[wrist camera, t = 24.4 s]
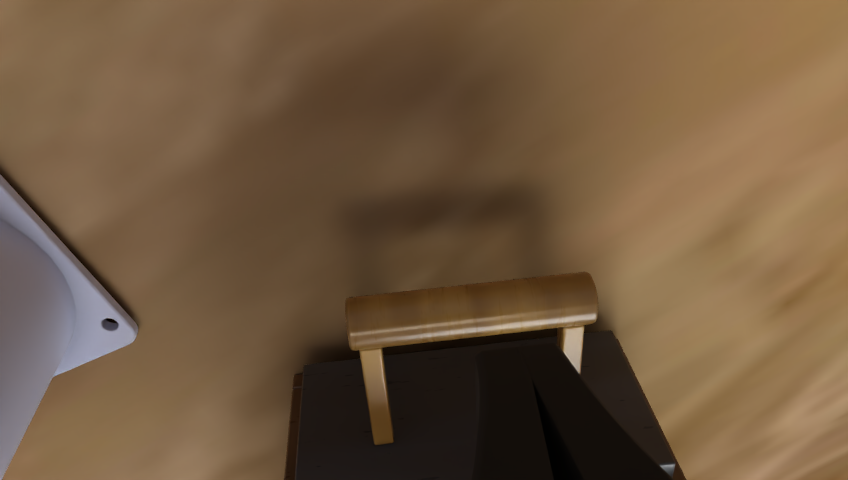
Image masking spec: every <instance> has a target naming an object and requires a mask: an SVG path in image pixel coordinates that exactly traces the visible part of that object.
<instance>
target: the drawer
mask: <svg viewBox="0 0 848 480" xmlns="http://www.w3.org/2000/svg"><path fill="white" fill-rule="evenodd" d="M345 316H346V327H347V335H348V342H349V346H350V348H351V350H353V351H355V350H359V352H360V359H351V360H342V361H333V362H325V363H316V364H307V365H304V367H303V380H302V393H301V406H300V419H299V432H298V445H297V458H296V471H295V480H471V479H472V473H473V468H474V461H475V454H476V444H477V412H476V383H475V356H476V355H477V354H478V353H479V352H481V351H484V350H493V349H502V348H511V347H520V346H529V345H537V344H546V343H555V344H556V345H558V346H559V347H560V348H561V349H562V351H563V352H564V354H565V355H566V356H567V358H568V359H569V361H570V362H571V363H572V365H573V366H574V367H575V369H576V370H577V371H578V373H579V374H580V375H581V376H582V378H583V379H584V380H585V381H586V383H587V384H588V385H589V387H590V388H591V389H592V390H593V391H594V393H595V394H596V395H597V396H598V398H599V399H600V400H601V401H602V402H603V404H604V405H605V406H606V407H607V408H608V410H609V411H610V412H611V413H612V414H613V415H614V417H615V418H616V419H617V420H618V421H619V422H620V423H621V424H622V425H623V427H624V428H625V429H626V430H627V431H628V432H629V433H630V434H631V435H632V437H633V438H634V439H635V440H636V441H637V442H638V443H639V444H640V445H641V447H642V448H643V449H644V450H645V451H646V452H647V453H648V454H649V455H650V456H651V457H652V458H653V459H654V460H655V461H656V462H657V463H658V464H659V465H660V466H661V467H662V468H663V469H664V470H665V471H666V472H667V473H668V474H669V475H670V476H671V477H672V478H673V473H674V468H675V460H674V458H673V456H672V454H671V452H670V450H669V448H668V446H667V444H666V442H665V440H664V438H663V436H662V434H661V432H660V429H659V427H658V425H657V423H656V421H655V419H654V417H653V415H652V413H651V411H650V409H649V407H648V405H647V403H646V401H645V399H644V396H643V394H642V392H641V390H640V388H639V386H638V384H637V382H636V380H635V378H634V376H633V374H632V372H631V370H630V368H629V365H628V363H627V361H626V359H625V357H624V355H623V353H622V351H621V349H620V347H619V345H618V343H617V341H616V339H615V337H614V335H613V332H612V331H611V330H609V331H600V332H591V333H584V325H587V324H593V323H595V322H596V320H597V316H598V297H597V291H596V287H595V284H594V281H593V279H592V277H591V275H590V274H589V273H588V272H578V273H568V274H559V275H550V276H541V277H532V278H522V279H513V280H504V281H495V282H486V283H477V284H467V285H458V286H449V287H440V288H431V289H421V290H412V291H403V292H394V293H385V294H375V295H366V296H357V297H349V298H347V299H346V302H345ZM552 328H558V331H557V336H556V337H547V338H538V339H529V340H520V341H511V342H502V343H493V344H485V345H476V346H467V347H458V348H449V349H440V350H431V351H422V352H413V353H405V354H396V355H387V356H383V349H382V347H391V346H400V345H409V344H418V343H427V342H436V341H445V340H453V339H462V338H471V337H480V336H489V335H498V334H507V333H516V332H525V331H534V330H543V329H552Z"/></svg>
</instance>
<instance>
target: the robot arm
mask: <svg viewBox="0 0 848 480" xmlns="http://www.w3.org/2000/svg"><path fill="white" fill-rule="evenodd" d="M106 318H111V319H114V320H115V321H117V323H112V322H109V321H108V320H106ZM137 334H138V326H137V324H136V323H135V321H134V320H133V319H132V318H131V317H130V316H129V315H128V314H127V313H126V312H125V311H124V309H123V308H122V307H121V306H120V305H119V304H118V303H117V302H116V301H115V300H114V298H113V297H112V296H111V295H110V294H109V293H108V292H107V291H106V290H105V289H104V287H103V286H102V285H101V284H100V283H99V282H98V281H97V280H96V279H95V278H94V277H93V275H92V274H91V273H90V272H89V271H88V270H87V269H86V268H85V267H84V266H83V264H82V263H81V262H80V261H79V260H78V259H77V258H76V257H75V256H74V255H73V253H72V252H71V251H70V250H69V249H68V248H67V247H66V246H65V245H64V244H63V243H62V241H61V240H60V239H59V238H58V237H57V236H56V235H55V234H54V233H53V232H52V230H51V229H50V228H49V227H48V226H47V225H46V224H45V223H44V222H43V221H42V220H41V218H40V217H39V216H38V215H37V214H36V213H35V212H34V211H33V210H32V209H31V207H30V206H29V205H28V204H27V203H26V202H25V201H24V200H23V199H22V198H21V196H20V195H19V194H18V193H17V192H16V191H15V190H14V189H13V188H12V187H11V186H10V184H9V183H8V182H7V181H6V180H5V179H4V178H3V177H2V176H1V175H0V480H2V478H3V476H4V474H5V472H6V470H7V468H8V466H9V464H10V462H11V460H12V458H13V456H14V454H15V452H16V450H17V448H18V446H19V444H20V442H21V440H22V438H23V436H24V434H25V432H26V430H27V428H28V426H29V424H30V422H31V420H32V418H33V416H34V414H35V412H36V410H37V408H38V406H39V404H40V402H41V400H42V398H43V396H44V394H45V392H46V390H47V388H48V386H49V384H50V382H51V380H52V378H53V377H54V376H56V375H59V374H61V373H63V372H66V371H68V370H70V369H73V368H75V367H77V366H80V365H82V364H85V363H87V362H89V361H92V360H94V359H96V358H99V357H101V356H103V355H106V354H108V353H110V352H113V351H115V350H117V349H120V348H122V347H124V346H127V345H129V344H131V343H132V342H134V340H135V338H136V336H137ZM475 383H476V412H477V444H476V454H475V461H474V468H473V473H472V479H471V480H674V479H673V478H672V477H671V476H670V475H669V474H668V473H667V472H666V471H665V470H664V469H663V468H662V467H661V466H660V465H659V464H658V463H657V462H656V461H655V460H654V459H653V458H652V457H651V456H650V455H649V454H648V453H647V452H646V451H645V450H644V449H643V448H642V447H641V445H640V444H639V443H638V442H637V441H636V440H635V439H634V438H633V437H632V435H631V434H630V433H629V432H628V431H627V430H626V429H625V428H624V427H623V425H622V424H621V423H620V422H619V421H618V420H617V419H616V418H615V417H614V415H613V414H612V413H611V412H610V411H609V410H608V408H607V407H606V406H605V405H604V404H603V402H602V401H601V400H600V399H599V398H598V396H597V395H596V394H595V393H594V391H593V390H592V389H591V388H590V387H589V385H588V384H587V383H586V381H585V380H584V379H583V378H582V376H581V375H580V374H579V373H578V371H577V370H576V369H575V367H574V366H573V365H572V363H571V362H570V361H569V359H568V358H567V356H566V355H565V354H564V352H563V351H562V349H561V348H560V347H559V346H558V345H556V344H555V343H546V344H537V345H529V346H520V347H511V348H502V349H493V350H484V351H481V352H479V353H478V354H477V355H476V356H475Z"/></svg>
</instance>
